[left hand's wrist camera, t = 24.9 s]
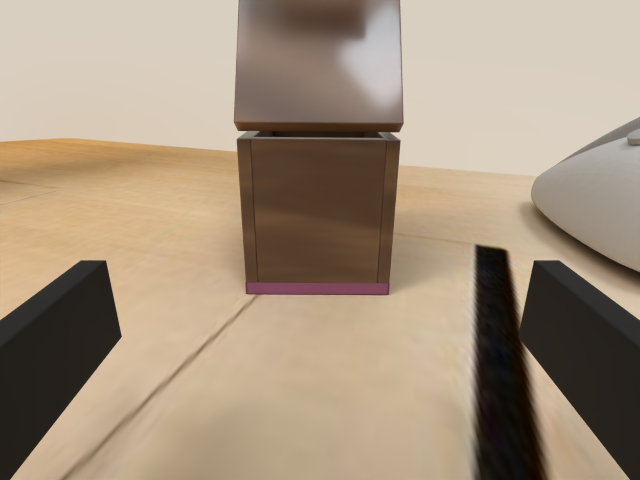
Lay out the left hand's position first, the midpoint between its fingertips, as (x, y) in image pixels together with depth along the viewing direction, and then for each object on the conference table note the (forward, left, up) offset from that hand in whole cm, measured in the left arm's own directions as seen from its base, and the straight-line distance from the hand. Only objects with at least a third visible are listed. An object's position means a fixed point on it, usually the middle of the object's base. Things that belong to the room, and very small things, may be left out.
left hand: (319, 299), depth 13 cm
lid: (+13, -9, +9) cm, 18 cm away
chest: (+15, -10, -6) cm, 19 cm away
